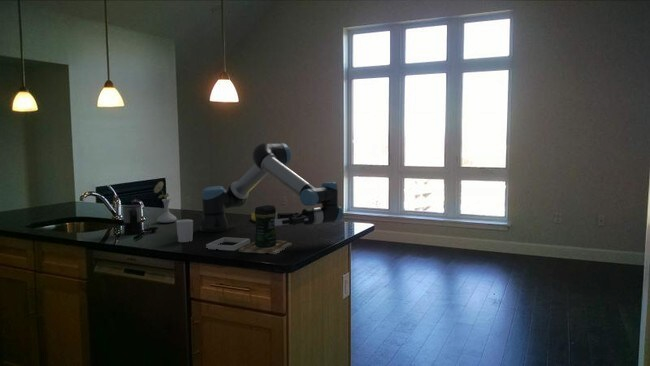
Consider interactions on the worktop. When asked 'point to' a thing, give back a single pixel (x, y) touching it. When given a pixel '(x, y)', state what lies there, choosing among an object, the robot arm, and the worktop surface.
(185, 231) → the white cup
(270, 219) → the coffee jar
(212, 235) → the worktop surface
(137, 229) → the milk frother
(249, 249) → the brown flat square slab
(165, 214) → the flower in vase
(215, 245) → the frame
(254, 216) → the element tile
